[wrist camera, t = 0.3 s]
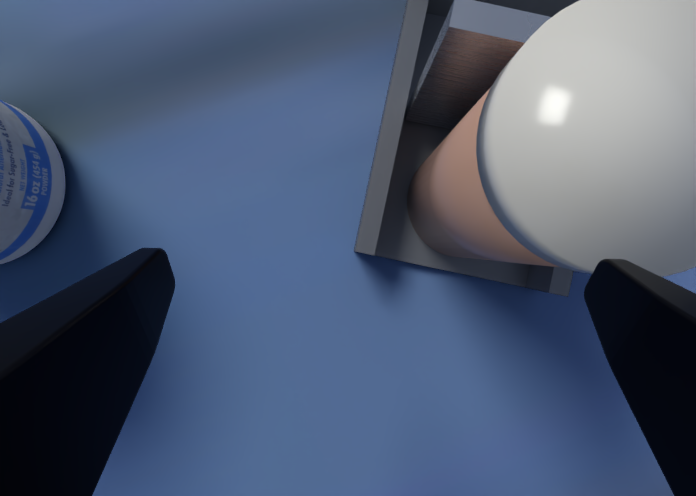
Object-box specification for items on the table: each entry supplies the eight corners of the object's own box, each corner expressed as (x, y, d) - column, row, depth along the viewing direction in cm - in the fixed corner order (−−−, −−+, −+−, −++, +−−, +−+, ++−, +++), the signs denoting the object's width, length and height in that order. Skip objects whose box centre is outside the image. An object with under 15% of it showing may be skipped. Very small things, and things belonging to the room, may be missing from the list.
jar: (543, 218, 22) (839, 176, 9) (446, 281, 22) (596, 334, 9) (480, 121, 22) (682, -69, 9) (382, 184, 22) (438, 89, 9)
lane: (537, 289, 22) (617, 307, 16) (353, 250, 22) (356, 252, 16) (592, 36, 22) (694, -51, 16) (407, -4, 22) (433, -108, 16)
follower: (551, 151, 21) (701, 81, 12) (405, 119, 21) (449, 26, 12) (555, 133, 21) (707, 50, 12) (409, 102, 21) (455, -4, 12)
